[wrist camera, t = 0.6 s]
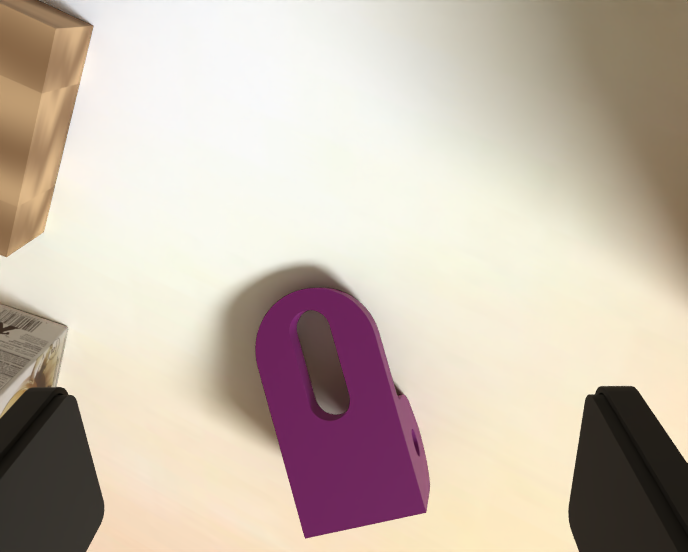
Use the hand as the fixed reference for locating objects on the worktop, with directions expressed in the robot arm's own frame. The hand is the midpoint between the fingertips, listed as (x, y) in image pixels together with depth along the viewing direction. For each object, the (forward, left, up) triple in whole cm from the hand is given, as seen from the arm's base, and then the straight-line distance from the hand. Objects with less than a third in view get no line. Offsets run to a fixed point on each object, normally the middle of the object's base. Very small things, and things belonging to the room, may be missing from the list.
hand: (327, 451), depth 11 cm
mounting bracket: (+20, +7, -34) cm, 39 cm away
